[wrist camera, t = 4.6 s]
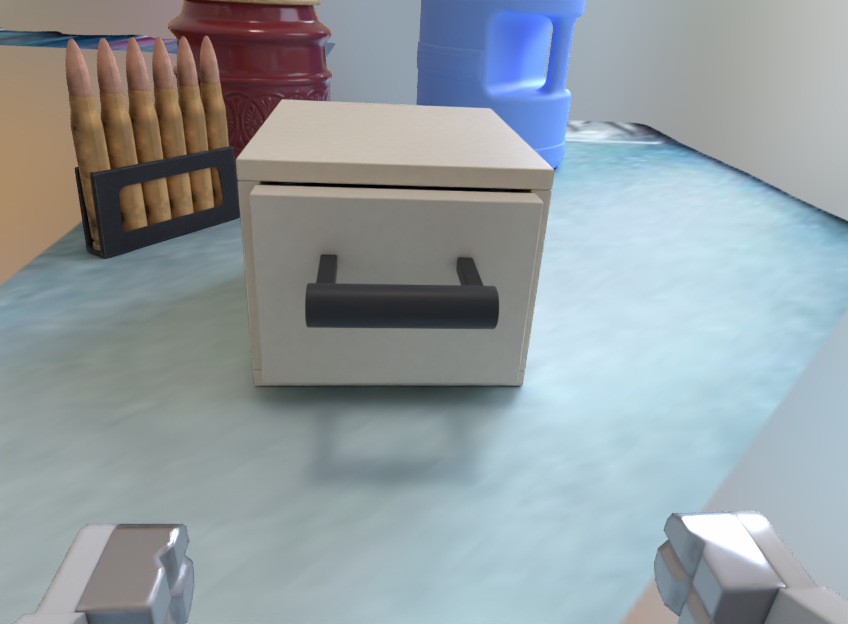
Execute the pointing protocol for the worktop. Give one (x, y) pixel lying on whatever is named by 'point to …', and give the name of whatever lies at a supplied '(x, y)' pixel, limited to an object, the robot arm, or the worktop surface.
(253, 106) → the kitchen canister
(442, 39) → the water jug
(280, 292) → the cabinet drawer
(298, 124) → the small drawer cabinet
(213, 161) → the ammunition clip
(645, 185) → the worktop surface
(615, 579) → the worktop surface
